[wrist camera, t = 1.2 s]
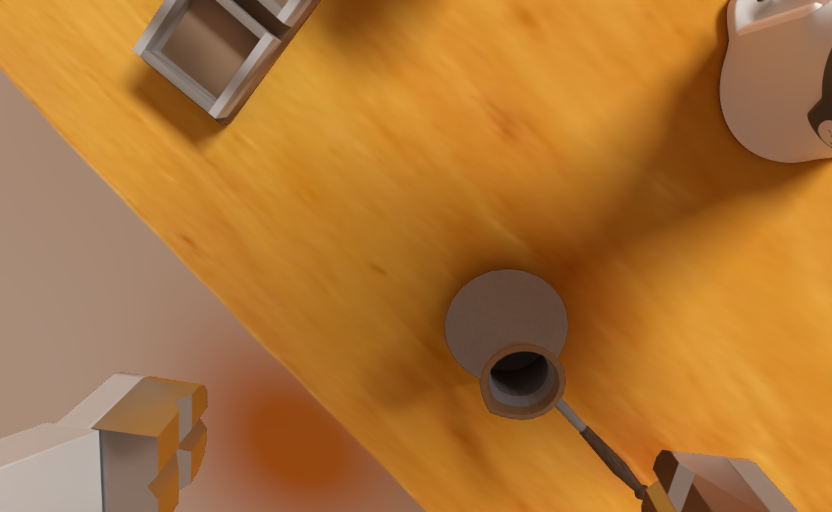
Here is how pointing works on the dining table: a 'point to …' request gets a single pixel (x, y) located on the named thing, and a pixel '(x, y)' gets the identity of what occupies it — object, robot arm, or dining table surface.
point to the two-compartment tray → (220, 47)
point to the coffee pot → (519, 351)
